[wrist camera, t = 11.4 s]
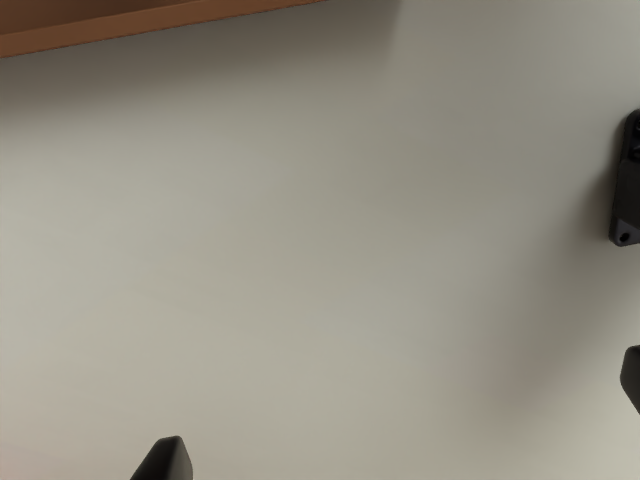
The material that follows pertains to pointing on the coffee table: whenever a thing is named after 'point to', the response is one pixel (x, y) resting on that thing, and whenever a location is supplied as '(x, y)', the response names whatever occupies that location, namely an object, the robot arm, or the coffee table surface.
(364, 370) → the coffee table surface
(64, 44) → the tray
